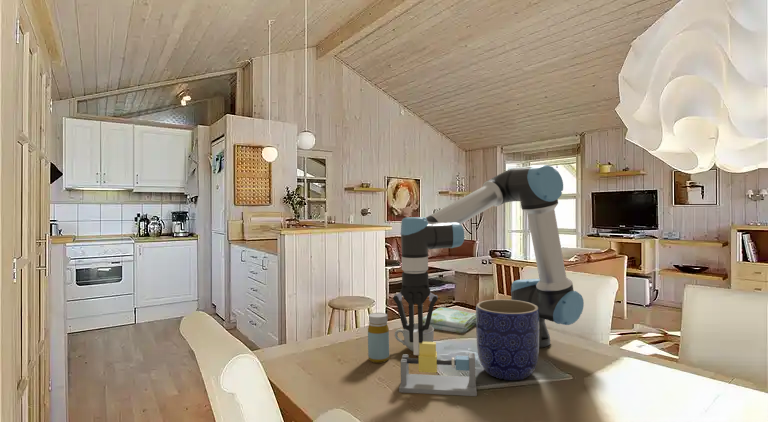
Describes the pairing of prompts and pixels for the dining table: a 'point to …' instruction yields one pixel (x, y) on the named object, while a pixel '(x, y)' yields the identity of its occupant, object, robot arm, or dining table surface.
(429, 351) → the sleeve
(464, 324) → the towel
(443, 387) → the grey u-shaped stand
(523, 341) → the planter
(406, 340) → the teacup
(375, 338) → the bottle
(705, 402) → the dining table surface
